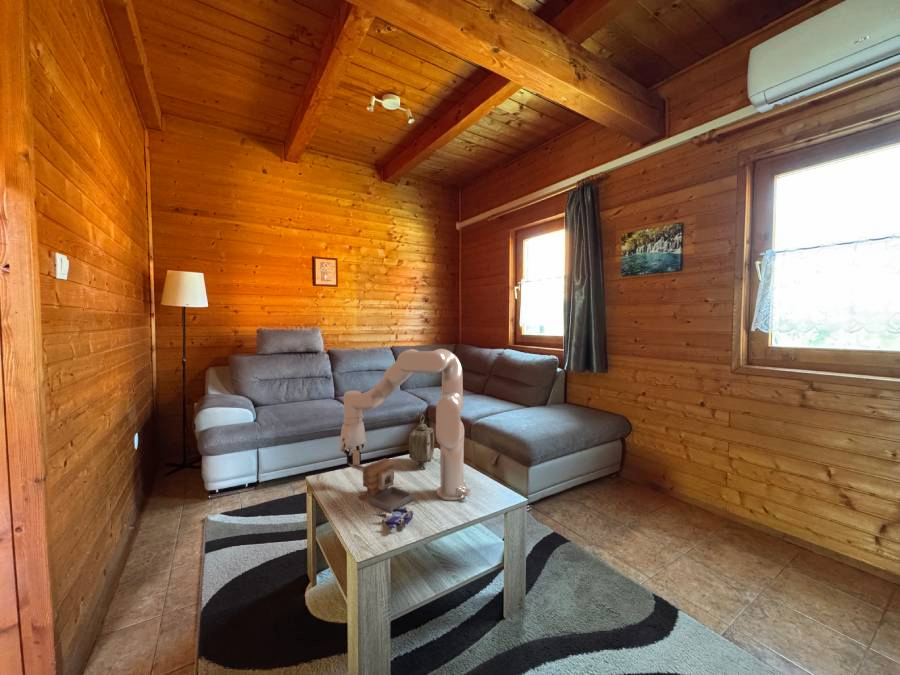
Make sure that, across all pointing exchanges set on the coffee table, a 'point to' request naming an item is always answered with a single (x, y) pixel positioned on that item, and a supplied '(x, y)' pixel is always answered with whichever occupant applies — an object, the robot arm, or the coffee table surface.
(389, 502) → the tray
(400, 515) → the toy airplane
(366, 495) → the bearing block
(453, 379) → the robot arm
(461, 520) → the coffee table surface
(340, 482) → the coffee table surface
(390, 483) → the square wooden ring
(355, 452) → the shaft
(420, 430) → the old lantern
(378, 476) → the bar
